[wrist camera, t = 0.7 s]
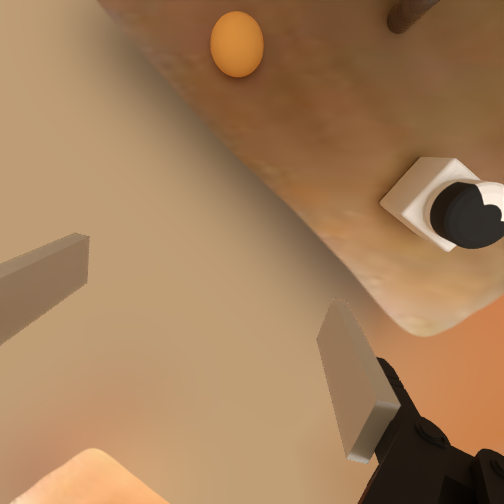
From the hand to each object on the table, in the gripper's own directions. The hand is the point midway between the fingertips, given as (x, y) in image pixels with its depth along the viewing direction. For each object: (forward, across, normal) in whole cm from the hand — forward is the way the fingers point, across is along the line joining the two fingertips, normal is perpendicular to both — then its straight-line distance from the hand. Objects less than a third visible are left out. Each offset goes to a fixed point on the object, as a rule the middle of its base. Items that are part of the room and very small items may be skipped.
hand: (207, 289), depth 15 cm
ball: (+21, -4, +17) cm, 27 cm away
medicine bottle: (+24, +21, +7) cm, 33 cm away
